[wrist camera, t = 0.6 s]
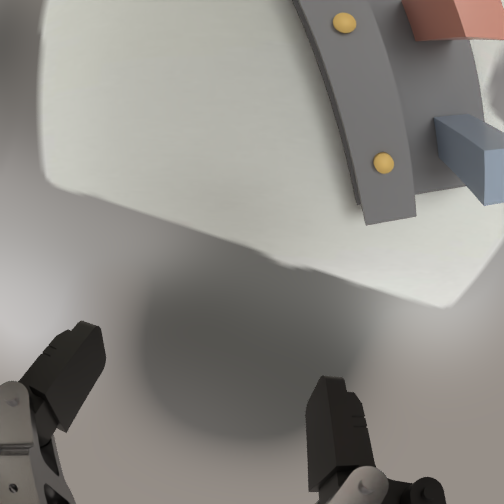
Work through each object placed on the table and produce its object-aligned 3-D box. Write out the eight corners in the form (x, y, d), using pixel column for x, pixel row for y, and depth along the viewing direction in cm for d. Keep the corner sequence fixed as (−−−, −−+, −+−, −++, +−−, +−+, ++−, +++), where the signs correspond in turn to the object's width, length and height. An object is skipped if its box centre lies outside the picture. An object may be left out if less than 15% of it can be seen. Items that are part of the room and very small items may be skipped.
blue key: (433, 117, 25) (484, 150, 16) (468, 113, 23) (526, 146, 14) (438, 157, 28) (483, 205, 18) (472, 153, 26) (523, 199, 17)
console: (285, -15, 21) (277, -32, 15) (439, -30, 14) (463, -43, 8) (356, 201, 35) (362, 230, 30) (483, 179, 28) (507, 204, 23)
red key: (401, 0, 18) (443, -24, 9) (439, 0, 16) (493, -17, 7) (415, 41, 20) (465, 36, 11) (453, 40, 19) (512, 40, 9)
